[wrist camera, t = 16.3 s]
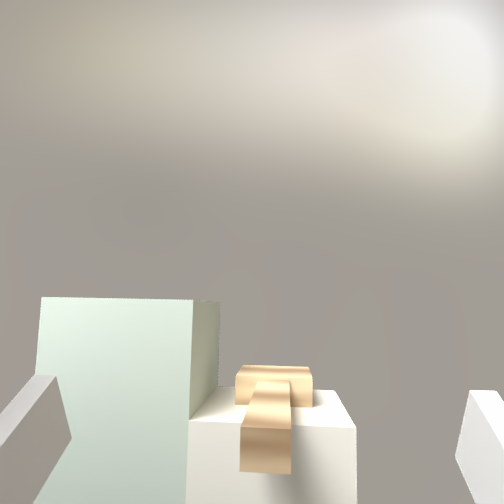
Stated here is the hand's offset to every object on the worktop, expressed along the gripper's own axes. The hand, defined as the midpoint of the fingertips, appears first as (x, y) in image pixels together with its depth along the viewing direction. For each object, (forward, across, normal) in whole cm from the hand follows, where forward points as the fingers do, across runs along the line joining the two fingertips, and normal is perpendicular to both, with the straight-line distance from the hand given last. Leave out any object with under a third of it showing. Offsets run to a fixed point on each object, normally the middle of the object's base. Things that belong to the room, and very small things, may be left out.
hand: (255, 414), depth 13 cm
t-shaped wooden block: (+12, 0, -12) cm, 16 cm away
